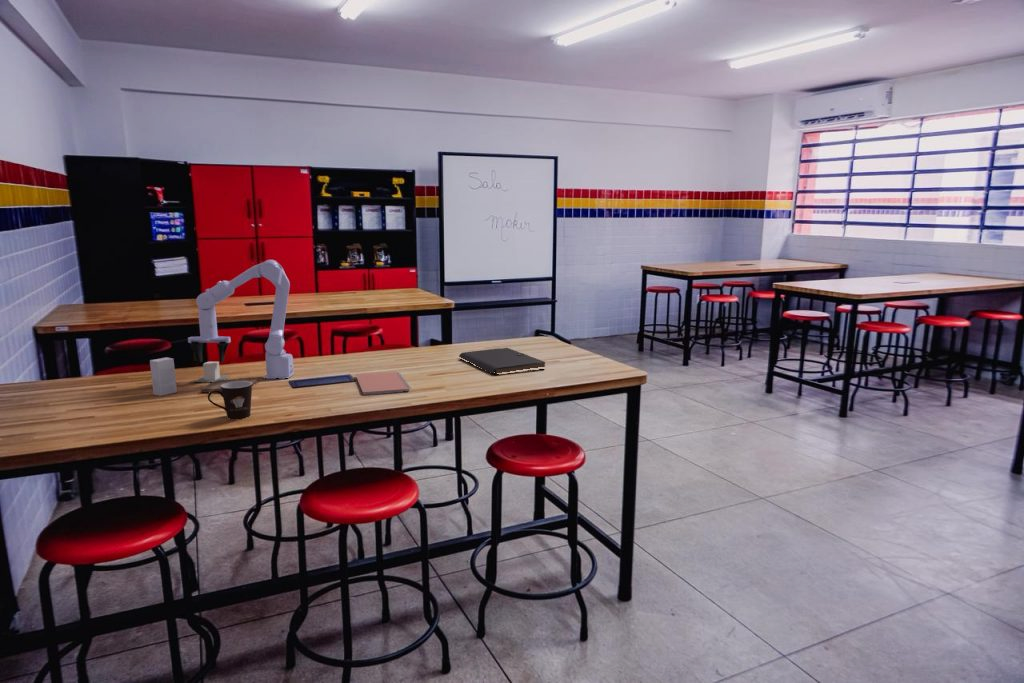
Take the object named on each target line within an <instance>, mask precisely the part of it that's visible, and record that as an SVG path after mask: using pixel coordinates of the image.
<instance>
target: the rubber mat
mask: <svg viewBox="0 0 1024 683" xmlns="http://www.w3.org/2000/svg"><path fill="white" fill-rule="evenodd" d="M229 376H230V375H220V378H218V379H222V380H224V379H225V380H227V379H228V378H227V377H229ZM226 378H227V379H226ZM229 378H230V377H229ZM216 380H217V379H216ZM214 381H215V380H204V376H202V377H200V378H198V379H197V380H195V381H194V383H195V382H214Z"/></svg>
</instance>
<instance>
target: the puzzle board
mask: <svg viewBox="0 0 1024 683" xmlns="http://www.w3.org/2000/svg"><path fill="white" fill-rule="evenodd" d="M234 381H249V382H252V387H254V386H255V385H257V384H256V383H257V379H225V380H222V379H217V380H215V381H214V382H212V383H208V384H207V385H205V386H204V387H202V388H201V393H202V392H212V391H215V390H216V391H220V392H222V389H221V385H222V384H224V383H228V382H234ZM254 384H255V385H254ZM253 385H254V386H253Z"/></svg>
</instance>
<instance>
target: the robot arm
mask: <svg viewBox="0 0 1024 683" xmlns="http://www.w3.org/2000/svg"><path fill="white" fill-rule="evenodd" d="M285 272H286V271H285V270H284V267H282V265H281V264H280V263H279V262H278V261H277V260H274V259H267V260H265V261H264V262H261V263H258V264H256V265H253V266H251V267H250V268H248V269H245V271H244V272H242V273H240V274H238V275H237V276H236V277H234V278H233V279H231V280H222V281H221V280H219V281H218V282H216V284H215V285H214V286H212V287H211V288H206V289H205V292H202V293H200V294H199V295H198V296H197V297H196V301H195V304H196V306H197V307H198V310H197V311H198V323H199V324H198V325H199V335H200V336H190V337H187V343H189V344H190V348H191V349H192V350H193V352H194V354H195V356H196V358H197V360H198V361H197V362H198V363H202V362H204V357H203V356H204V355H203V344H205V343H214V344H215V343H217V344H216V347H217V350H218V358H219V361H218V362H219V363H223V362H224V361H225V356H226V351H227V349H228V347H229V345H230V343H231V342H232V340H231V336H222V335H221V336H220V335H219V334H218V333H219V332H218V323H217V312H216V306H215V305H216V304H219V303H220V302H222V301H224V300H226V299H227V298H229V297H230V296H232V295H234V294H235V289H237V288H238V287H239V286H242V285H243V284H245V283H247V282H248V281H250V280H252V279H253V278H262V277H264V278H265V279H267V280H269V281H270V282H271V283H272V285H274V286H275V293H274V294H275V296H274V302H273V311H272V316H271V317H272V318H271V324H270V330H269V336H268V338H267V341H266V342H265V344H264V348H265V351H266V352H265V353H264V354H265V367H266V370H265V371H266V375H264V376H263V377H262V379H263V378H264V379H265V378H266V380H267V379H272V380H273V379H274V380H276V378H279V379H281V380H283V379H284V380H285V378H288V379H290V378H291V377H292V376H293V375H295V372H294V371H295V370H294V357H293V354H291V353H286V352H287V351H286V350H285V349H284V347H285V342H286V341H285V339H284V338H285V337H284V333H285V332H284V331H285V329H284V328H285V324H286V323H285V321H286V315H287V309H288V308H287V307H288V300H289V293H290V288H291V287H290V286H291V284H290V283H291V282H290V280H289V278H288V277H287V275H286V273H285ZM289 377H290V378H289Z"/></svg>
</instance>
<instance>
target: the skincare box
mask: <svg viewBox="0 0 1024 683" xmlns="http://www.w3.org/2000/svg"><path fill="white" fill-rule="evenodd" d="M149 366H150V373H151V374H150V375H151V384H152V392H153V395H154V394H155V396H159V397H163V396H165V395H171V394H175V393H177V392H178V391H177V390H178V388H177V379H176V371H175V370H176V369H175V362H174V358H171V357H167V356H166V357H161V358H157V359H150V360H149Z"/></svg>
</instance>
